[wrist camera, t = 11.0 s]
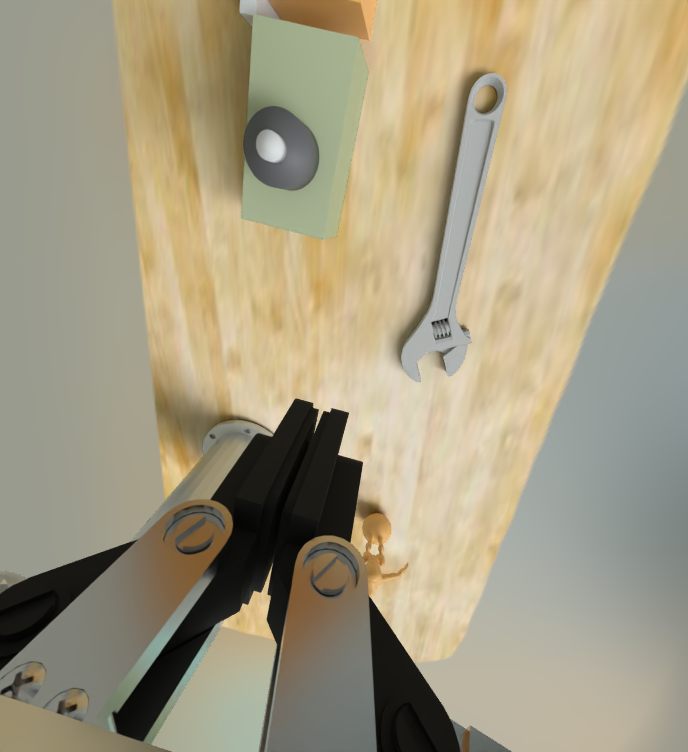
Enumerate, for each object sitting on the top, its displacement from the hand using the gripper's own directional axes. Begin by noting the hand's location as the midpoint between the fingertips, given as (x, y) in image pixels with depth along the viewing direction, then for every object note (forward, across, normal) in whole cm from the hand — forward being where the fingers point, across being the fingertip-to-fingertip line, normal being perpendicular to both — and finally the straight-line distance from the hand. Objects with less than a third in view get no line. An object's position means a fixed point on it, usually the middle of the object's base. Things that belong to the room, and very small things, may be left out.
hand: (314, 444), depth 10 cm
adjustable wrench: (+25, -7, -5) cm, 27 cm away
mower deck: (+25, +8, -15) cm, 30 cm away
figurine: (+26, -8, +30) cm, 40 cm away
